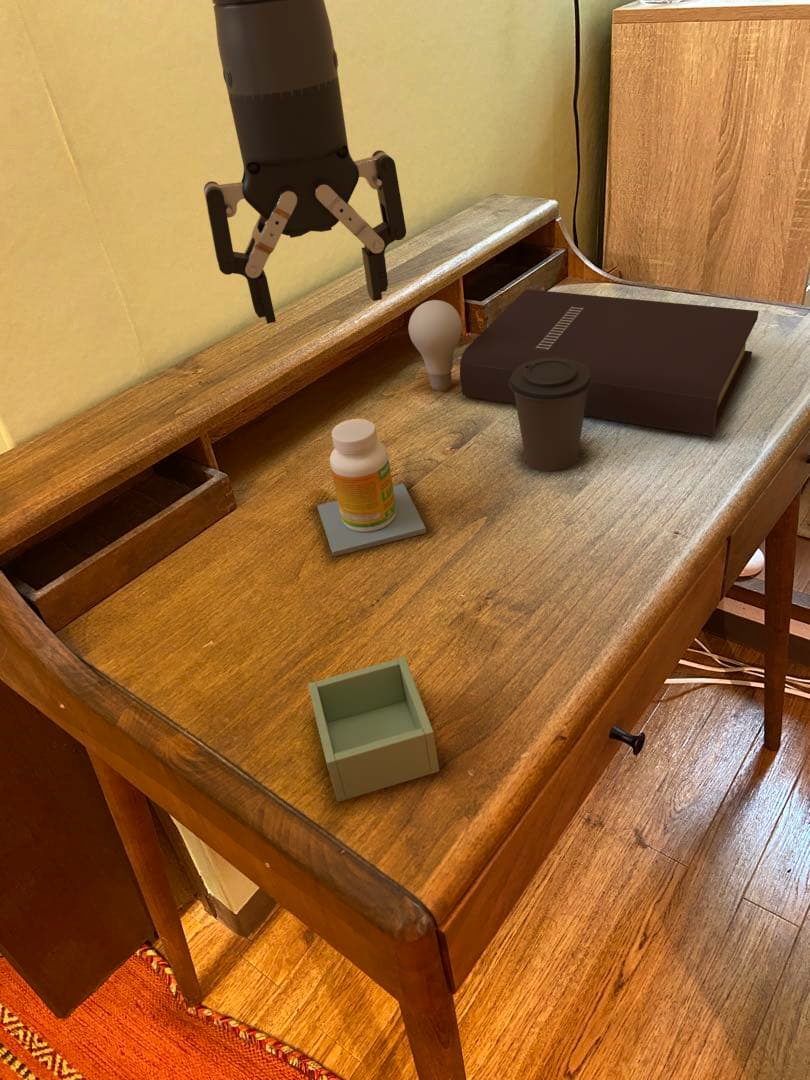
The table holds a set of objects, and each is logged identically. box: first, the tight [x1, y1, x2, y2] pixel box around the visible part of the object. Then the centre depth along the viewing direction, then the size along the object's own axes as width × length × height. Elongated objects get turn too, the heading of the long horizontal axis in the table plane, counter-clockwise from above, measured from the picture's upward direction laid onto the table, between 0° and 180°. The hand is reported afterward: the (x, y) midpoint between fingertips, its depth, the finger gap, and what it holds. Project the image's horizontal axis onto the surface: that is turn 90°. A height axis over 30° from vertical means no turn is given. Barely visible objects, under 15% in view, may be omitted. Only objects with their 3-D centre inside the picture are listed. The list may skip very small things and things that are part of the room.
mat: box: [316, 483, 427, 558], centre depth 79 cm, size 9×8×1 cm
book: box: [459, 288, 759, 438], centre depth 94 cm, size 28×20×6 cm
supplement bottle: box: [329, 418, 396, 532], centre depth 76 cm, size 5×5×10 cm
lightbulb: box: [408, 299, 463, 392], centre depth 95 cm, size 6×6×11 cm
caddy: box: [307, 656, 440, 803], centre depth 57 cm, size 7×7×4 cm
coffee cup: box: [508, 358, 593, 472], centre depth 82 cm, size 8×8×10 cm
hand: (322, 308), depth 65 cm, fingers open, 8 cm apart
